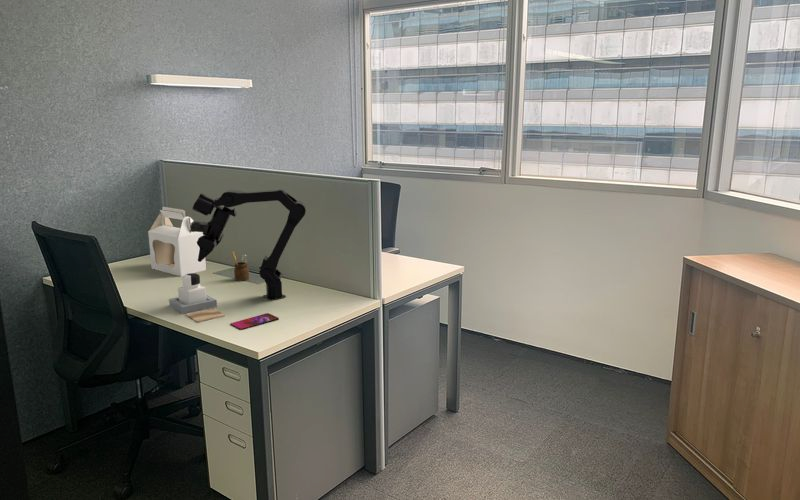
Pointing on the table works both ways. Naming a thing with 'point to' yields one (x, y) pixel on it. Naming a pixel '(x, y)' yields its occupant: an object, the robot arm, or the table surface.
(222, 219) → the robot arm
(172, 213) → the gable box
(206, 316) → the cork coaster
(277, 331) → the table surface
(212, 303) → the parts tub
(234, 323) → the smartphone
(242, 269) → the utensil holder
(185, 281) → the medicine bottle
